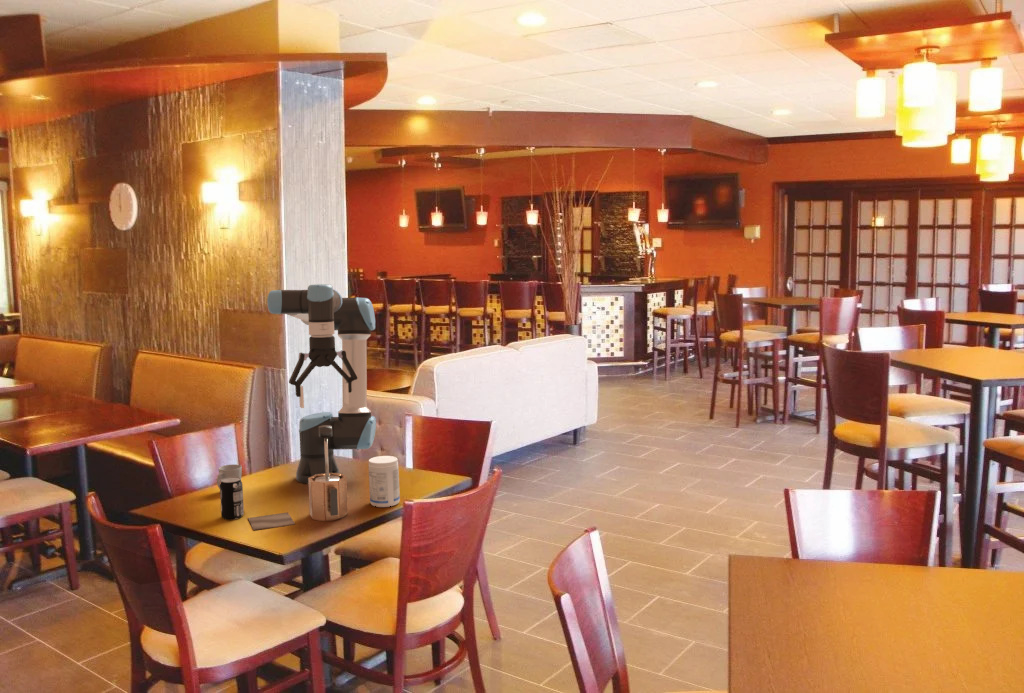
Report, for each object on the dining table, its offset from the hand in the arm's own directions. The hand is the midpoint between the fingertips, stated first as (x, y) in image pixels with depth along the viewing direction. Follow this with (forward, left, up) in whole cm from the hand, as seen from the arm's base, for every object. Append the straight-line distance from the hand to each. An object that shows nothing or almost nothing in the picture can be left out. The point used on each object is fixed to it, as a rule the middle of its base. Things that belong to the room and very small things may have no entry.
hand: (324, 405), depth 256 cm
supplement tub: (-4, +19, -35) cm, 40 cm away
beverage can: (-12, -27, -35) cm, 46 cm away
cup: (-40, -25, -35) cm, 59 cm away
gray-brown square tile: (-2, -17, -35) cm, 39 cm away
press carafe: (+1, 0, -35) cm, 35 cm away
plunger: (0, 0, -24) cm, 24 cm away
